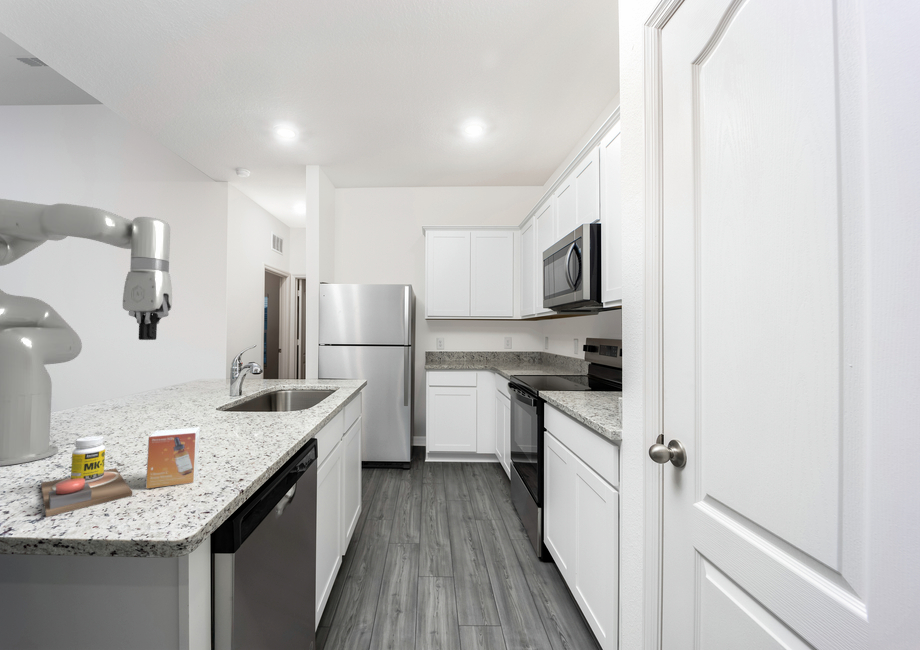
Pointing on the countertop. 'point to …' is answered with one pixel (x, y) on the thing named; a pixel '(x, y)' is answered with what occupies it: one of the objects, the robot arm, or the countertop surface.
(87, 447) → the supplement bottle
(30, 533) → the countertop surface
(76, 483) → the button
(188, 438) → the small box
